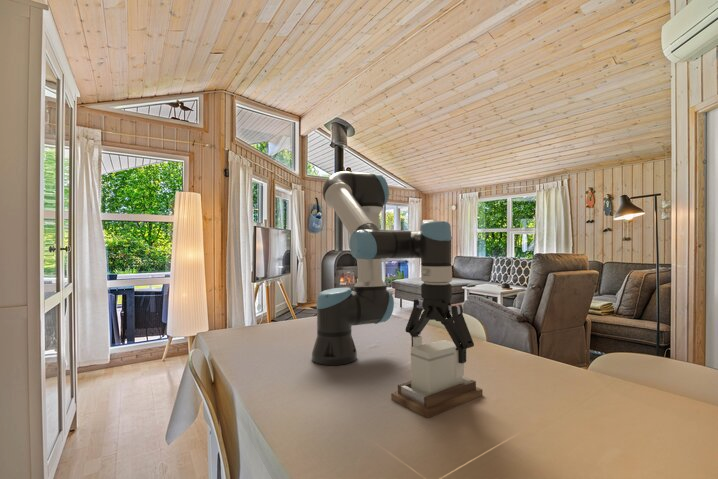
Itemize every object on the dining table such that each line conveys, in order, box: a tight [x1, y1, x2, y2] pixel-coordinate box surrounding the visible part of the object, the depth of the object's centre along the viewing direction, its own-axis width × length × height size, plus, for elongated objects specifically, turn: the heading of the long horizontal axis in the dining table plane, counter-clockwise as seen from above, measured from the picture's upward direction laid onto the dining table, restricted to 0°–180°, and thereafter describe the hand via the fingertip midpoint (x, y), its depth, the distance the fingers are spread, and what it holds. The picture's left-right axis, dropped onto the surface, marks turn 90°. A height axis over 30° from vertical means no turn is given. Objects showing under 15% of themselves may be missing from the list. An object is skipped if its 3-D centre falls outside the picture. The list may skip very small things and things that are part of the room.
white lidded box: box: [410, 339, 462, 396], centre depth 89 cm, size 6×12×11 cm, turn 126°
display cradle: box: [390, 376, 484, 419], centre depth 89 cm, size 12×20×4 cm, turn 126°
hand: (437, 368), depth 89 cm, fingers open, 13 cm apart
